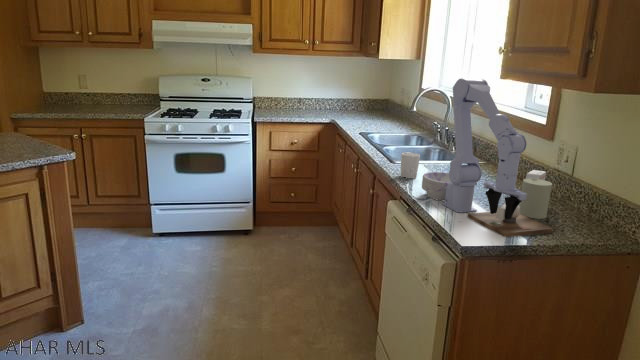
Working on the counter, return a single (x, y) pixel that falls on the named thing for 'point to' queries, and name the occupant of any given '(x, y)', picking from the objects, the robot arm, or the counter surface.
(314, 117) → the counter surface
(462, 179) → the robot arm
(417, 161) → the white cup
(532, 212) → the can
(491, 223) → the post board
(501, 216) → the white block
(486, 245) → the counter surface
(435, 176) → the paper bowls
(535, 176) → the ink box
